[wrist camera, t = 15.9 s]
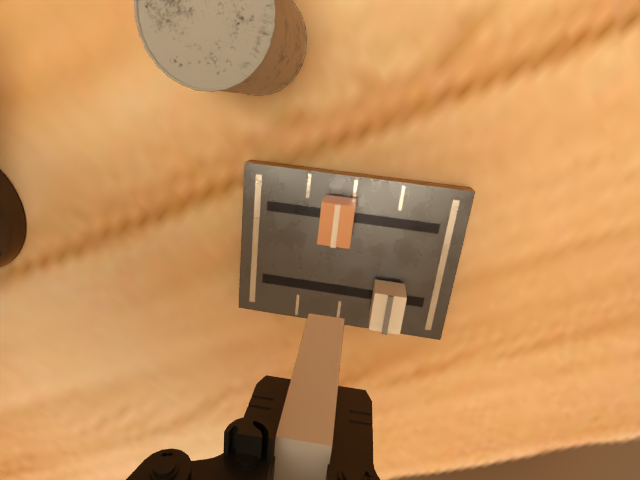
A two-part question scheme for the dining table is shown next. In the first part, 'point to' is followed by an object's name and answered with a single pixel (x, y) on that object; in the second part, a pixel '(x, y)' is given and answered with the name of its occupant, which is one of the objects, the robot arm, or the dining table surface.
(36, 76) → the dining table surface
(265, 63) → the grey speckled cylinder
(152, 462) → the robot arm
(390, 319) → the fader ivory
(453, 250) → the console
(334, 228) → the fader terracotta
